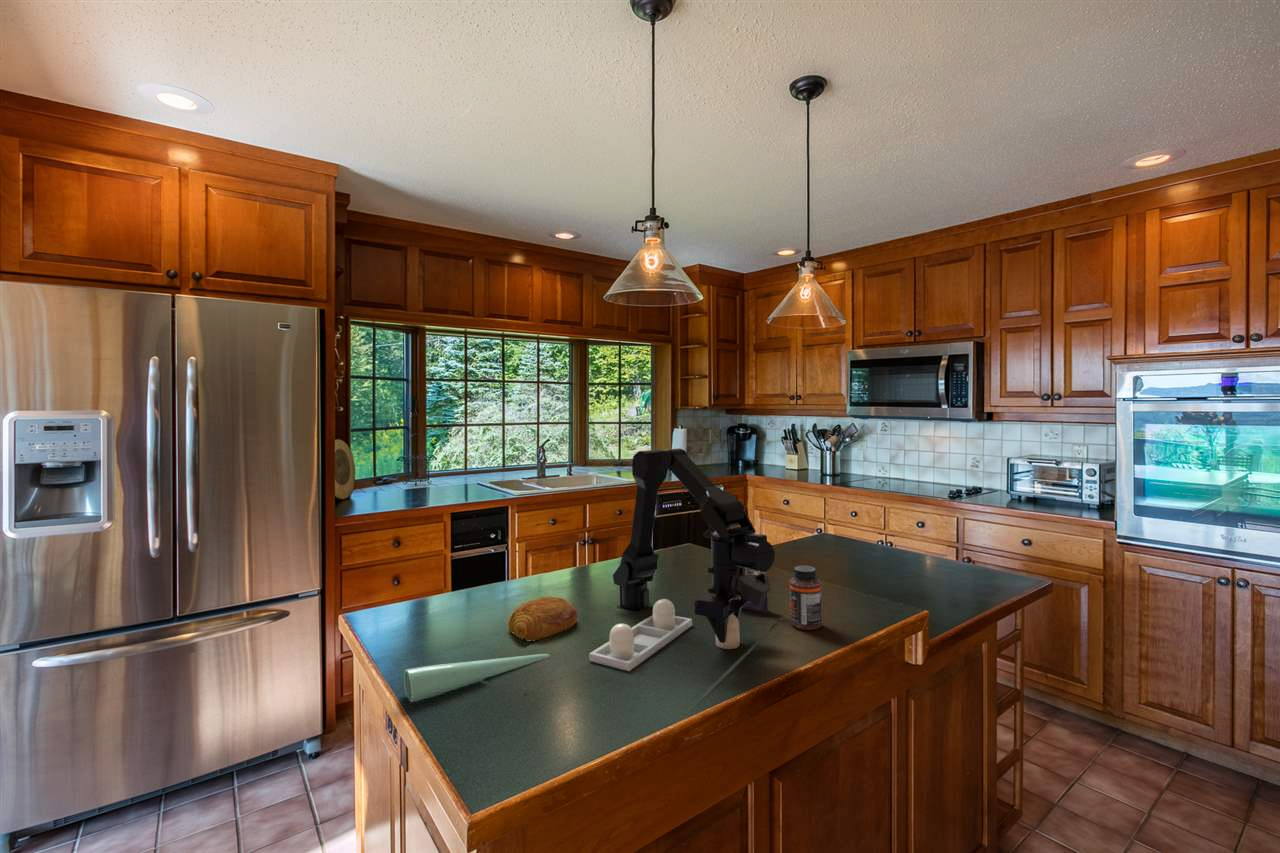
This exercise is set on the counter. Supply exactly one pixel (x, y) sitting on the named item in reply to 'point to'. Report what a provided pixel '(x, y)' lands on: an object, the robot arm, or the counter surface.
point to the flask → (748, 605)
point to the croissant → (542, 618)
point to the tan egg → (731, 634)
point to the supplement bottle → (805, 599)
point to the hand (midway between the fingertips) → (727, 637)
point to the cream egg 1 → (621, 642)
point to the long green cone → (458, 674)
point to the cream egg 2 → (664, 615)
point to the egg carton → (641, 643)
